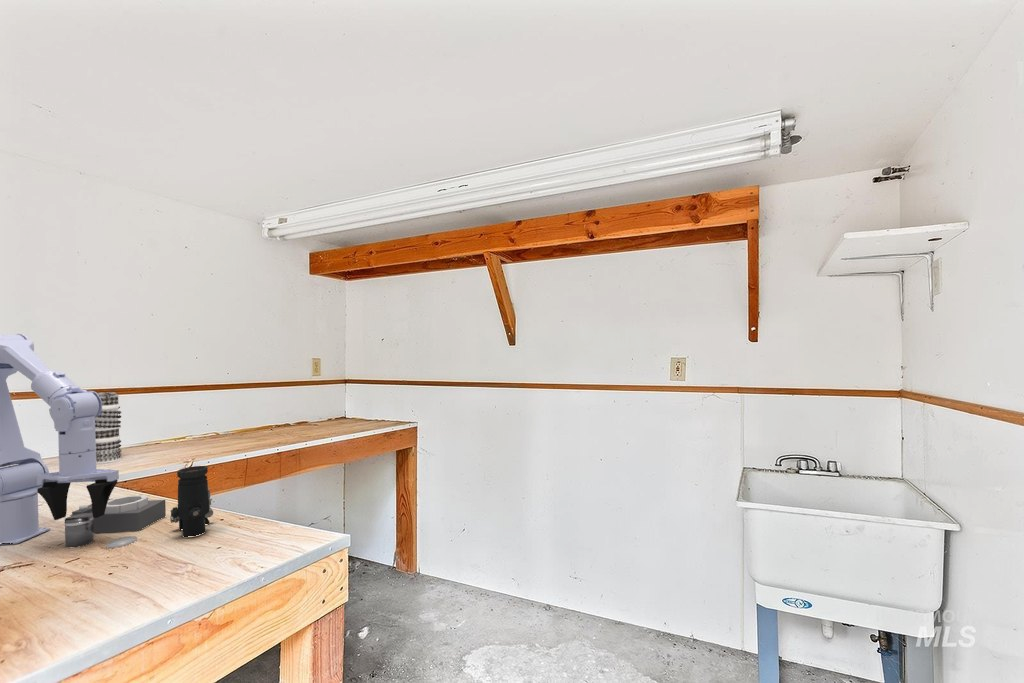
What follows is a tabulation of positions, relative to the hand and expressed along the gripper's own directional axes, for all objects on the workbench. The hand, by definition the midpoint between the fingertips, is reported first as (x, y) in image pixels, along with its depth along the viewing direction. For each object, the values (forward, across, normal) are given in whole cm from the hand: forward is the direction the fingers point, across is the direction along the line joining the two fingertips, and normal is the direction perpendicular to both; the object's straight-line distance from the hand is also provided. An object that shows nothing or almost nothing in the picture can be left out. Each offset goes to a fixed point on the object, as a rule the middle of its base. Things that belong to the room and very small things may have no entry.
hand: (79, 517), depth 101 cm
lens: (+5, 0, 0) cm, 5 cm away
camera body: (+5, +2, +10) cm, 11 cm away
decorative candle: (+5, -54, +81) cm, 98 cm away
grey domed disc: (+6, +9, -1) cm, 11 cm away
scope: (+6, +21, +3) cm, 22 cm away
